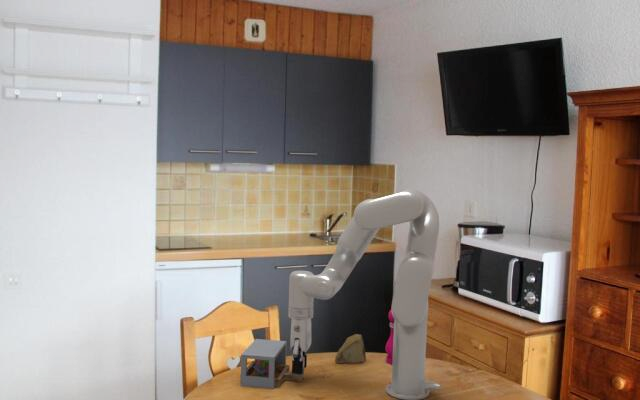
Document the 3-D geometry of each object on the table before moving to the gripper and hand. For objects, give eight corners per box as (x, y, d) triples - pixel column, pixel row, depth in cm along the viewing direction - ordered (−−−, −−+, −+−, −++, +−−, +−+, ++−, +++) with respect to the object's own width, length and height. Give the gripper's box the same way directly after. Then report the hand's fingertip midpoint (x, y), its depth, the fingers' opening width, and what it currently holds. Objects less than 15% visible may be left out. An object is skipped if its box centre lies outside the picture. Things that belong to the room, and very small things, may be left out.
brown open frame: (308, 372, 213) (308, 350, 213) (299, 388, 200) (300, 364, 199) (252, 368, 216) (253, 346, 216) (240, 383, 202) (240, 359, 202)
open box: (285, 370, 216) (286, 341, 215) (273, 388, 199) (274, 357, 199) (255, 367, 218) (255, 338, 217) (240, 385, 201) (241, 354, 200)
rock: (331, 359, 222) (361, 357, 219) (332, 334, 226) (361, 332, 224) (338, 370, 230) (367, 369, 228) (339, 346, 235) (367, 345, 233)
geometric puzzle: (284, 372, 207) (273, 348, 210) (267, 378, 202) (257, 353, 205) (270, 381, 211) (260, 358, 214) (254, 387, 206) (244, 362, 209)
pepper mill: (405, 366, 224) (408, 306, 222) (383, 364, 225) (386, 305, 223) (407, 359, 231) (409, 302, 229) (386, 357, 232) (388, 300, 230)
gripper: (307, 319, 196) (306, 380, 197) (317, 306, 213) (316, 362, 214) (282, 318, 197) (281, 378, 199) (294, 304, 214) (292, 360, 215)
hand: (299, 369), depth 206 cm, fingers open, 5 cm apart
